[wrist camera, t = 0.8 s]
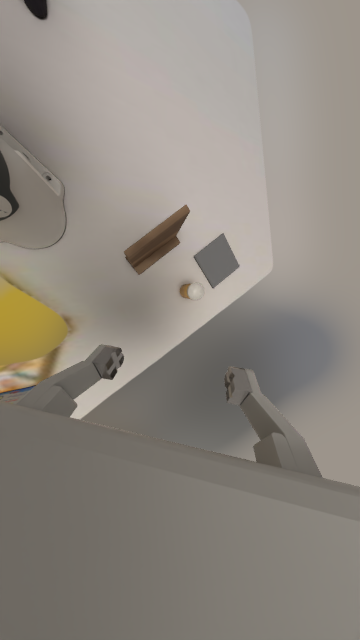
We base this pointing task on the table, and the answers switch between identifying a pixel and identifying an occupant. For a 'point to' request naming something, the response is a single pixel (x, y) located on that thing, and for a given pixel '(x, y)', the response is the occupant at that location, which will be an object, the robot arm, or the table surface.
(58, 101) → the table surface
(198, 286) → the pill bottle
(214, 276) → the mat
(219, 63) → the table surface
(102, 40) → the table surface
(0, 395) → the medicine box
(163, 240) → the wooden stand
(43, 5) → the two-way radio
